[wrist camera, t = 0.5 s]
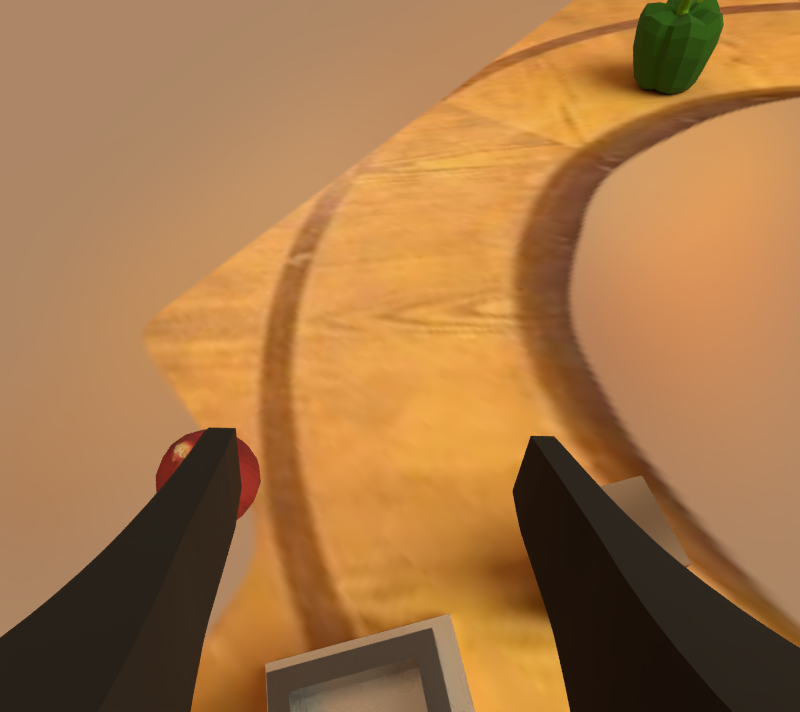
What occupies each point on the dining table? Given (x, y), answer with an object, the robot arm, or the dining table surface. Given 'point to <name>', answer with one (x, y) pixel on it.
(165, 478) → the onion
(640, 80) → the bell pepper
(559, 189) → the dining table surface
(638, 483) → the rail post
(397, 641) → the grey square socket
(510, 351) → the dining table surface
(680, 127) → the dining table surface
